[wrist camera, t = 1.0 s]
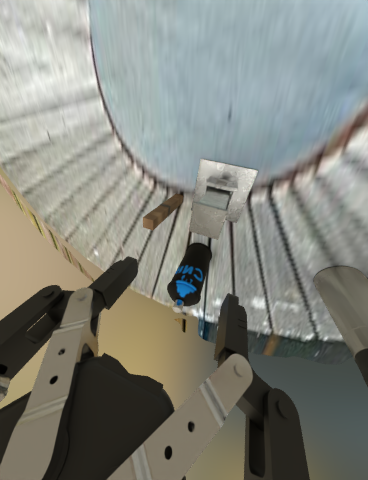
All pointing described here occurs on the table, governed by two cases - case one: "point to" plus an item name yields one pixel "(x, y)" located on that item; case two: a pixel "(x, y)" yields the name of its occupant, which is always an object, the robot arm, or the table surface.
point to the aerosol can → (190, 277)
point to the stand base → (225, 184)
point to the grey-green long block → (210, 213)
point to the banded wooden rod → (162, 212)
